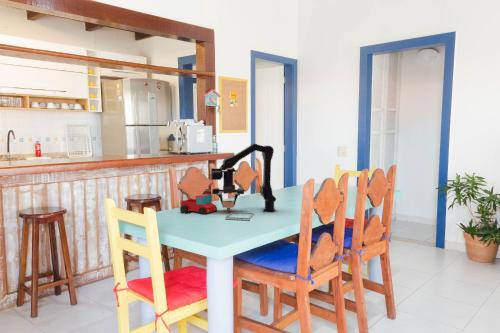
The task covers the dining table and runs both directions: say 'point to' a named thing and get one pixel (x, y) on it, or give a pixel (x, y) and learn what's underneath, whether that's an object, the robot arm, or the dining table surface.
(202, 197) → the toy truck
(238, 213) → the tray
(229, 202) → the ring
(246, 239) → the dining table surface
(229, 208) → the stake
